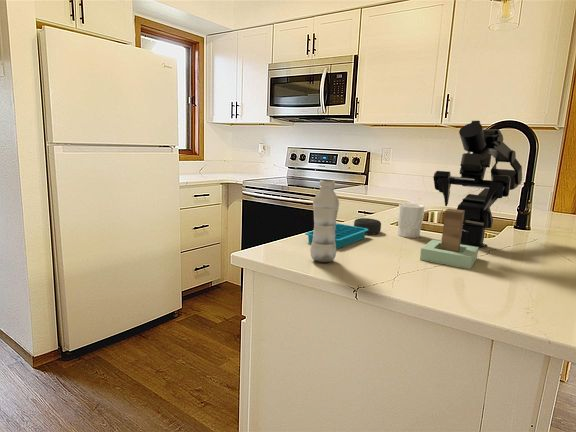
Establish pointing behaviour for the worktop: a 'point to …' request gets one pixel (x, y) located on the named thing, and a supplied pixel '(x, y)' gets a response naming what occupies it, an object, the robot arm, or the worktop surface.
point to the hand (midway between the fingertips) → (464, 207)
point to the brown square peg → (452, 230)
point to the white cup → (410, 220)
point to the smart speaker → (368, 225)
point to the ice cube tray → (344, 234)
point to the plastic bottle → (324, 222)
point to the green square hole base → (449, 255)
